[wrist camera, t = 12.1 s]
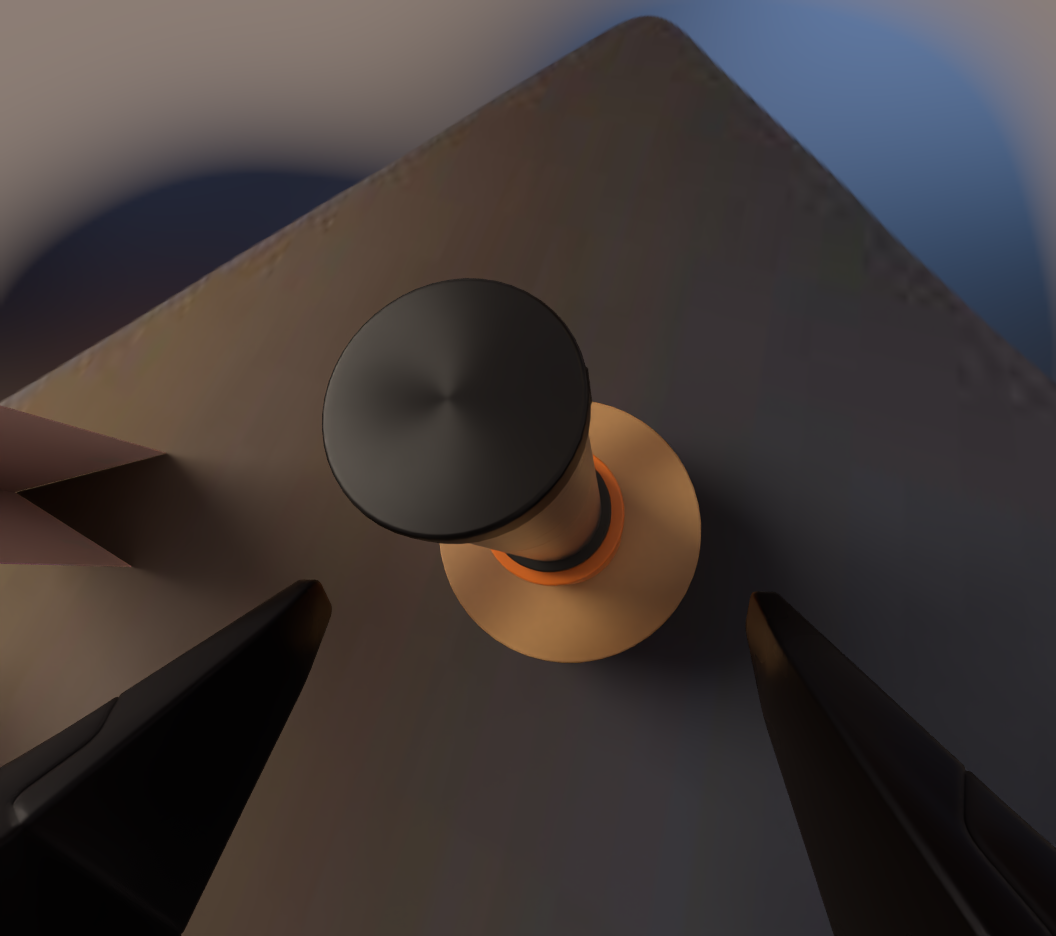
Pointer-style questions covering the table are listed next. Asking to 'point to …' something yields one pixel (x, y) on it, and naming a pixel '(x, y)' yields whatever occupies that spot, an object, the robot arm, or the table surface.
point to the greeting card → (44, 457)
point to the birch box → (623, 585)
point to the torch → (475, 430)
